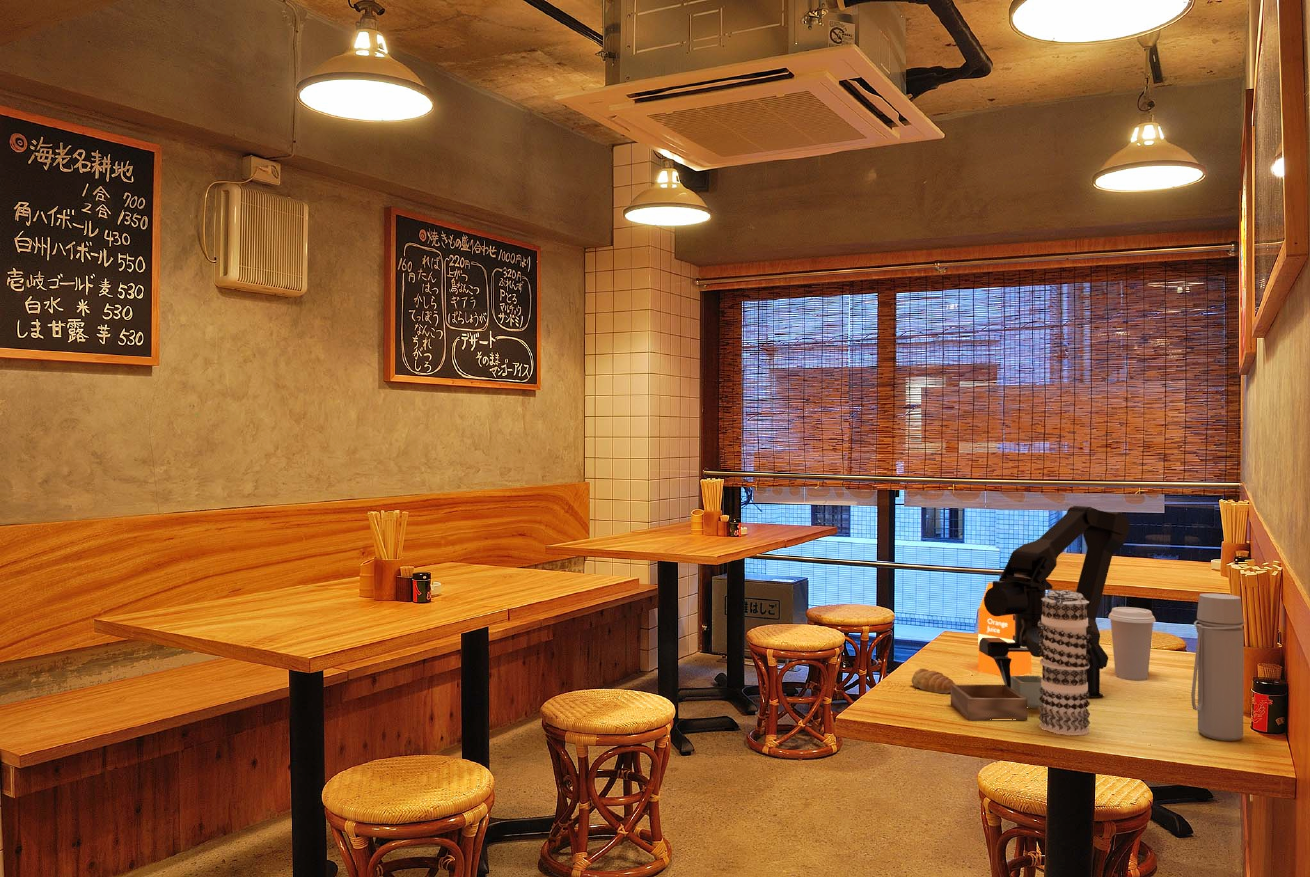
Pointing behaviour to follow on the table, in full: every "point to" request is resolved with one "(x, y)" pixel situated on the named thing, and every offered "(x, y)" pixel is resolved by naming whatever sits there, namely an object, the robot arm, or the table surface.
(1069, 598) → the decorative candle
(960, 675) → the table surface
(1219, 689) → the water bottle
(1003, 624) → the orange juice
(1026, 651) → the robot arm
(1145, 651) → the coffee cup
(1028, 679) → the small crate
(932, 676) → the pastry
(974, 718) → the big crate
